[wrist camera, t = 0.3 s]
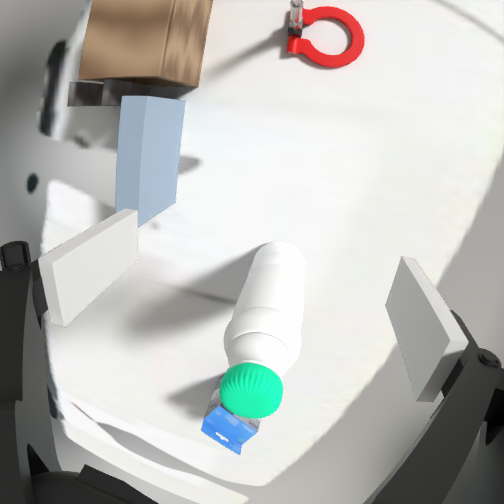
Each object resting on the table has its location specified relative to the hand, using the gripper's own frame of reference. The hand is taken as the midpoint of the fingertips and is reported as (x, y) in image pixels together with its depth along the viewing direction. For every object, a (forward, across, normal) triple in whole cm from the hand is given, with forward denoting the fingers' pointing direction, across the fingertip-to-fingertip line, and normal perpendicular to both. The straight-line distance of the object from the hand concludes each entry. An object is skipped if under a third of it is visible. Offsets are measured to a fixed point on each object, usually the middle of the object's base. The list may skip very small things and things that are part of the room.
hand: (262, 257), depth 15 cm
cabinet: (+27, -20, +16) cm, 37 cm away
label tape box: (+27, -2, -38) cm, 47 cm away
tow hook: (+27, +2, +19) cm, 33 cm away
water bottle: (+27, 0, -12) cm, 30 cm away
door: (+27, -16, +1) cm, 31 cm away
